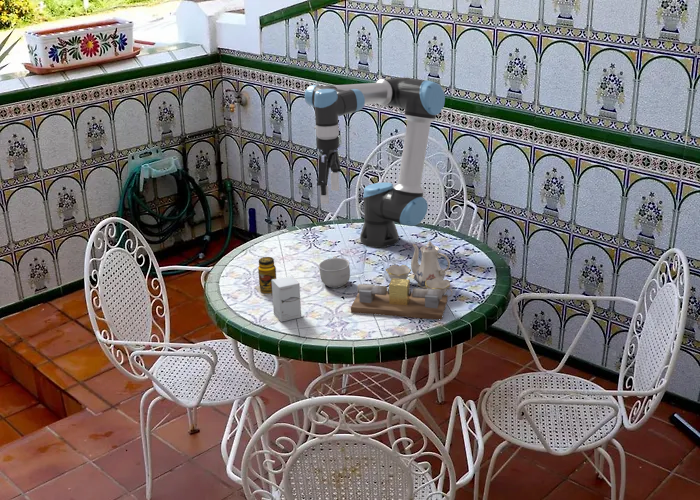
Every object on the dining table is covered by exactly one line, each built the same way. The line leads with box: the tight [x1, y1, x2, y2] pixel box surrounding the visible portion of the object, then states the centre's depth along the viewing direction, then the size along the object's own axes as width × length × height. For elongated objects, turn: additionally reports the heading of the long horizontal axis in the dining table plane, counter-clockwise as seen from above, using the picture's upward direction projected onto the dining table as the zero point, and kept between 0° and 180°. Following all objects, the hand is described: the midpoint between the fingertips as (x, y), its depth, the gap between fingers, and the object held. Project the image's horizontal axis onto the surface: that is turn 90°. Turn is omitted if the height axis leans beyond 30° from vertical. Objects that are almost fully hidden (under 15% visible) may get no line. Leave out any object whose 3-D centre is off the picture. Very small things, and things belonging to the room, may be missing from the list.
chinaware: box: [385, 240, 454, 298], centre depth 291 cm, size 28×17×17 cm, turn 52°
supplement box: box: [271, 275, 302, 323], centre depth 275 cm, size 7×7×13 cm
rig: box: [350, 283, 449, 321], centre depth 279 cm, size 14×30×7 cm, turn 76°
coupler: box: [387, 278, 413, 305], centre depth 278 cm, size 5×8×7 cm, turn 76°
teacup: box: [318, 255, 351, 288], centre depth 299 cm, size 14×11×8 cm
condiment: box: [254, 256, 277, 297], centre depth 294 cm, size 7×8×12 cm
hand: (330, 196), depth 289 cm, fingers open, 13 cm apart
